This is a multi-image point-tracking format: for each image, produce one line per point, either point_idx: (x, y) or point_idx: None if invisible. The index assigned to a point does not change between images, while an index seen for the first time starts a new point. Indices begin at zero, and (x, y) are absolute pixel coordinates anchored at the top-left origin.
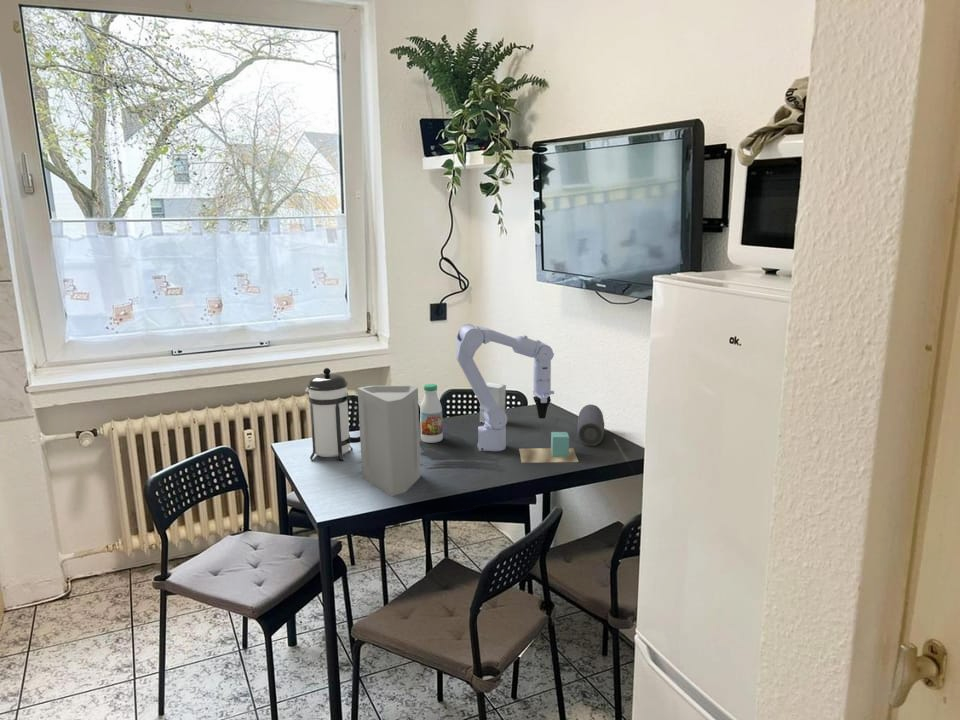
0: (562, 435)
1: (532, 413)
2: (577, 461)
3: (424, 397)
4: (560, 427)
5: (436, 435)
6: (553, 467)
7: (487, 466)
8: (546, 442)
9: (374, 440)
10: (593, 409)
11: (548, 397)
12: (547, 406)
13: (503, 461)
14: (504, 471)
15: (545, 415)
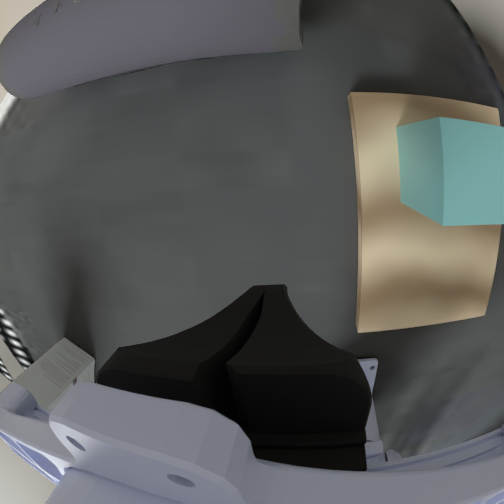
0: (494, 162)
1: (2, 259)
2: (495, 111)
3: None
4: (57, 168)
5: None
6: None
7: (444, 387)
8: (219, 213)
9: None
10: (51, 4)
11: (203, 401)
12: (317, 336)
13: (423, 360)
14: (487, 346)
15: (286, 292)
